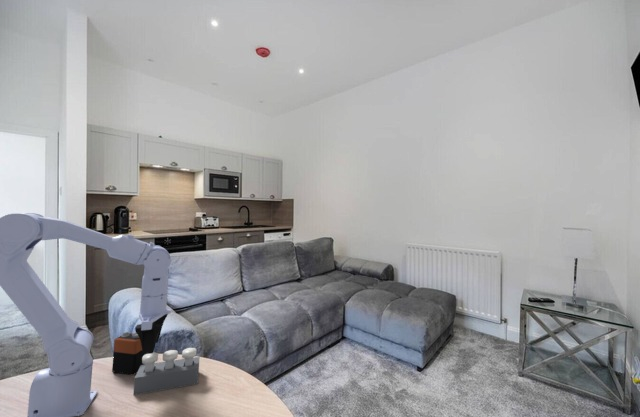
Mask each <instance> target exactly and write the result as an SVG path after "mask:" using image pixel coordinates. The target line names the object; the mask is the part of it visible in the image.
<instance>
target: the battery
mask: <svg viewBox="0 0 640 417" xmlns="http://www.w3.org/2000/svg"><path fill="white" fill-rule="evenodd" d="M113 342H114V343H113V356H112V367H111V368H112V369H111V371H112V373H114V374H115V373H116V374H123V375H129V376H130V375H131V376H133V375H136V374H137V372H138V370H139V368H140V366H141V365H144V364H143V363H142V357H143V356H144V355H146V354H143V351H142V346H141V341H140V338H139V336H138V334H137V333H136V332H133V333H132V332H131V333H130V332H129V331H125V332H123V333H122V335H120V336H117V337H116V338H115V339H114V341H113ZM113 357H114V358H113Z"/></svg>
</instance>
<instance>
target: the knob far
mask: <svg viewBox="0 0 640 417" xmlns="http://www.w3.org/2000/svg"><path fill="white" fill-rule="evenodd" d="M181 357H182V358H181V359H185V367H186V366H193V358H195V357H197V348H196V347H187V348H185V349H183V350H182V355H181Z"/></svg>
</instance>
